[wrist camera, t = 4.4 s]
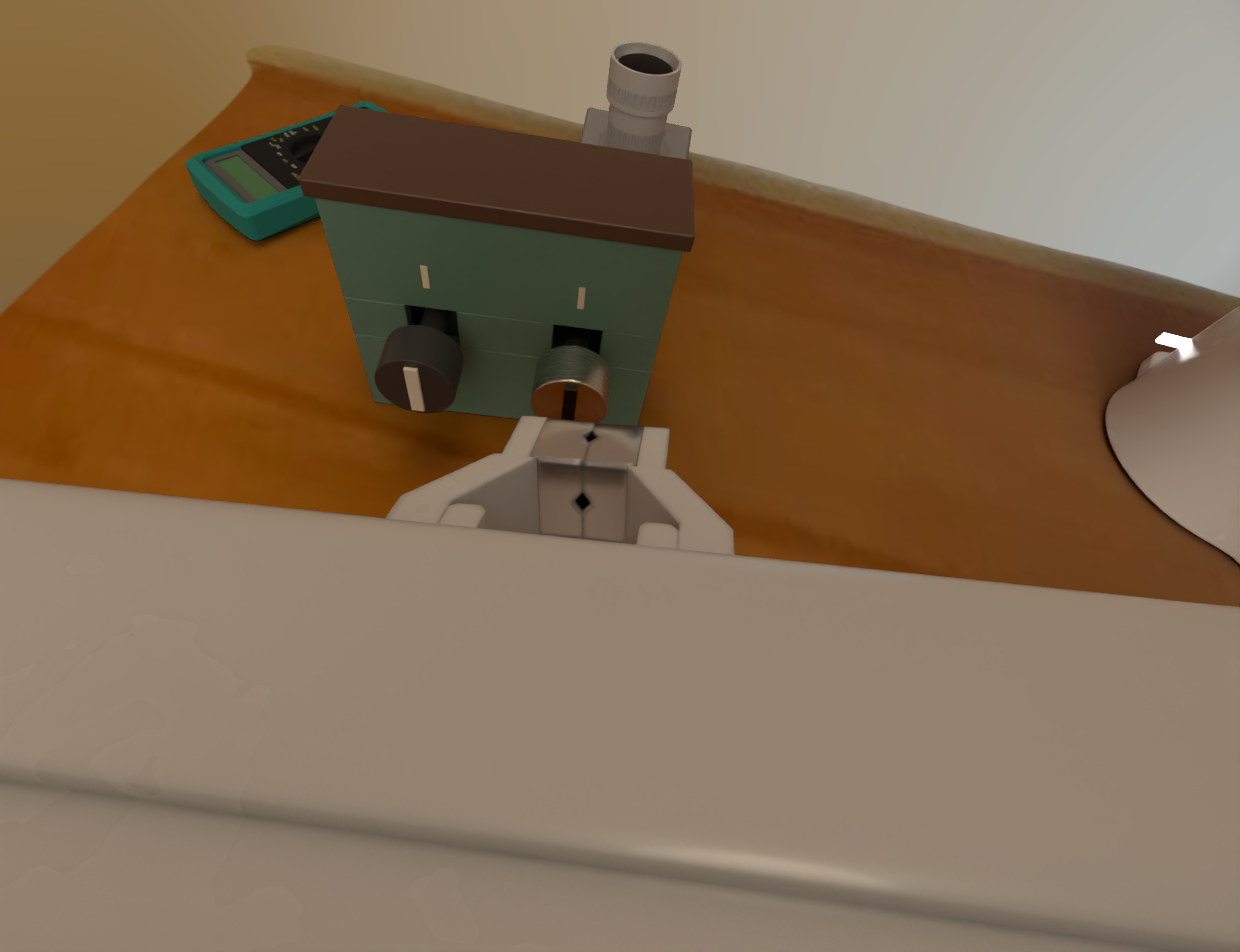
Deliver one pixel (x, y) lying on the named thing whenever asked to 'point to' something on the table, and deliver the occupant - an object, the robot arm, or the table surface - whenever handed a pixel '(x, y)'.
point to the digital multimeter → (262, 178)
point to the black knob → (421, 365)
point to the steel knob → (571, 381)
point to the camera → (640, 103)
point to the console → (502, 247)
